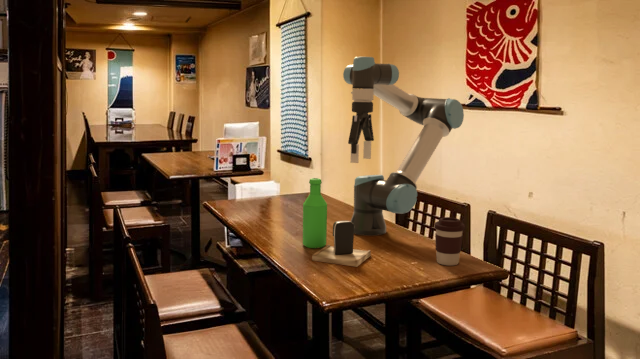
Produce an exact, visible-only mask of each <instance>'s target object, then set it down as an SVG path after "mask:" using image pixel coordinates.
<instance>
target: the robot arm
mask: <svg viewBox="0 0 640 359" xmlns="http://www.w3.org/2000/svg"><path fill="white" fill-rule="evenodd" d="M352 62H353V63H352V64H349V65H347V66H345V68H344V70H343V73H342V77H343V80H344V82H346V84H347V85H352V88H351V89H352V90H351V92H350V94H351V95H352V96H351V99H352V100H351V101H352V102H351V112H352V113H356V114H355V115H354V114H353V115H352V119H351V120H352V121H351V125H350V131H349V132H350V133H349V137H348V141H347V142H348V144H349V145H350V163H351V164H359V161H360V160H359V159H360V158H359V156H360V155H359V154H360V153H359V152H360V151H359V150H360V144H359V140H360V137H361V134H362V133H363V137H364V141H363V149H362V150H363V152H362V153H363V158H362V159H363V160H364V159H365V160H367V159H368V160H371V159H372V142H374V141H375V137H374V130H373V123H372V121H373V120H372V114H370V113H373V112H374V102H373V101H374V96H375V97H377V98H378V99H379V100H381V101H383V102H385V103H387V104H389V106H392V107H393V108H395V109H397V110H398V111H399V113H400V115H402V117H403V116H404V117H405V118H407V119H409V120H410V121H412V122H414V123H416V124H419V125H421V126H423V127H422V129H421V131H419V132H420V133H418V135H417V137H416V139H415V141H413V144H412V146H410V149H409V150H408V152H407V154H406V155H405V157H404V159H403V160H402V162H401V164H400V165H399V167H398V169H397V170H396V171H392V172H391V173H389V175H388V177H387V179H385V177H384V175H383V174H368V175H367V174H365V175H359V176H357V177H355V178H354V185H353V212H352V216H351V219H350V221H351V222H352V223H353V224H354V235H359V236H365V237H366V236H369V237H371V236H372V237H373V236H382V235H384V234H387V224H386V220H385V217H384V213H383V211H385V212H390V213H393V214H401V215H402V214H406V213H409V212H410V211H411V210H412V209H413V208H414V206H415V205H416V203H417V200H418V198H417V197H418V191H417V188H418V186H417V181H418V179H419V178H420V176H421V174H422V173H423V171H424V169H425V168H426V166H427V164H428V163H429V161H430V159H431V158H432V156H433V154H434V153H435V151H436V149H437V147H438V146H439V143H441V140H442V139H443V138H444V137H447V136H449V135H450V133H451V131H452V130H453V129H454V130H456V129H459V128H460V127H461V126H462V125H463V122H464V116H465V114H464V107H463V105H462V103H461V102H460V101H459V100H457V99H455V98H449V97H448V98H437V97H436V98H433V97H430V98H429V97H421V96H417V95H416V94H413V93H408V92H406V91H404V90H403V89H402V88H399V87H398V86H396V85H395V84H396V83H397V82H398V80H399V78H400V71H399V68H398V66H396V65H395V64H391V63H376V62H375V58H374V57H373V56H355V57H354V58H353V61H352Z"/></svg>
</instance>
